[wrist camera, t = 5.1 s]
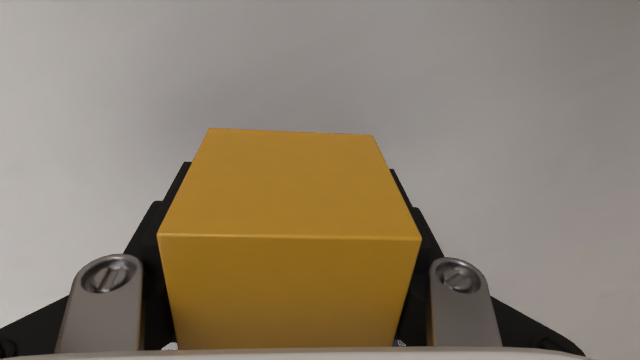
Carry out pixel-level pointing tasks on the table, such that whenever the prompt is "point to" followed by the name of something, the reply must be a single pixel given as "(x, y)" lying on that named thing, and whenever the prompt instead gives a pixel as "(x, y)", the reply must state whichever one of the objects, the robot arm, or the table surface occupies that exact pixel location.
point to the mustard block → (287, 243)
